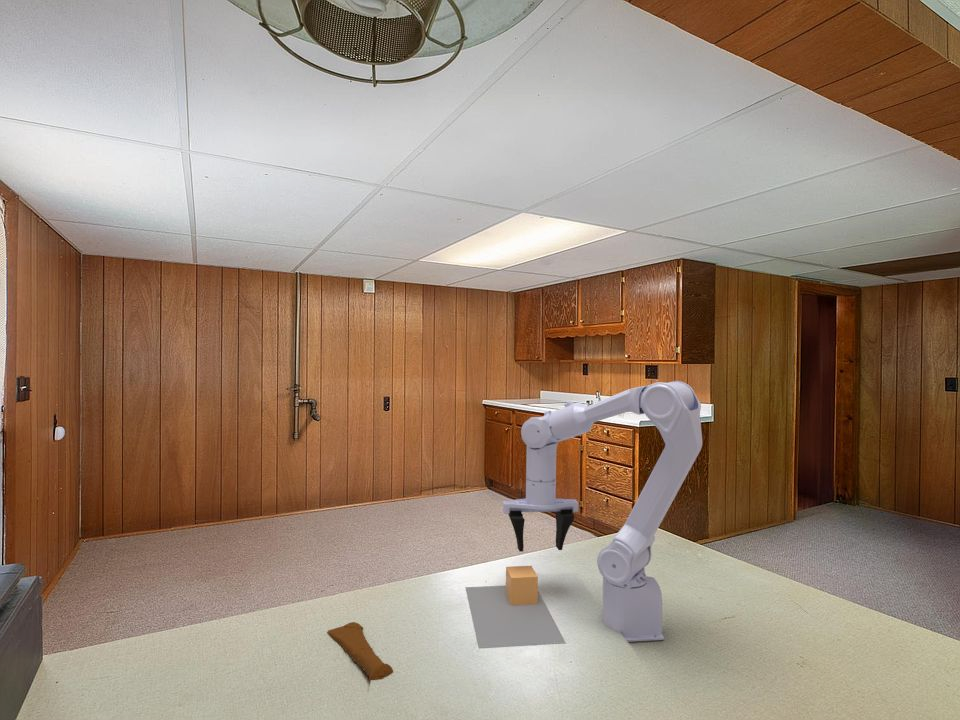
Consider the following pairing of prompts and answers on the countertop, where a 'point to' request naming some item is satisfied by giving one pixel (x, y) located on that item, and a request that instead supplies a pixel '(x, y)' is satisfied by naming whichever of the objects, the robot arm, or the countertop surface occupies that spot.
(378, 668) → the primitive tool
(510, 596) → the wooden cube
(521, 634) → the board
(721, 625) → the countertop surface
